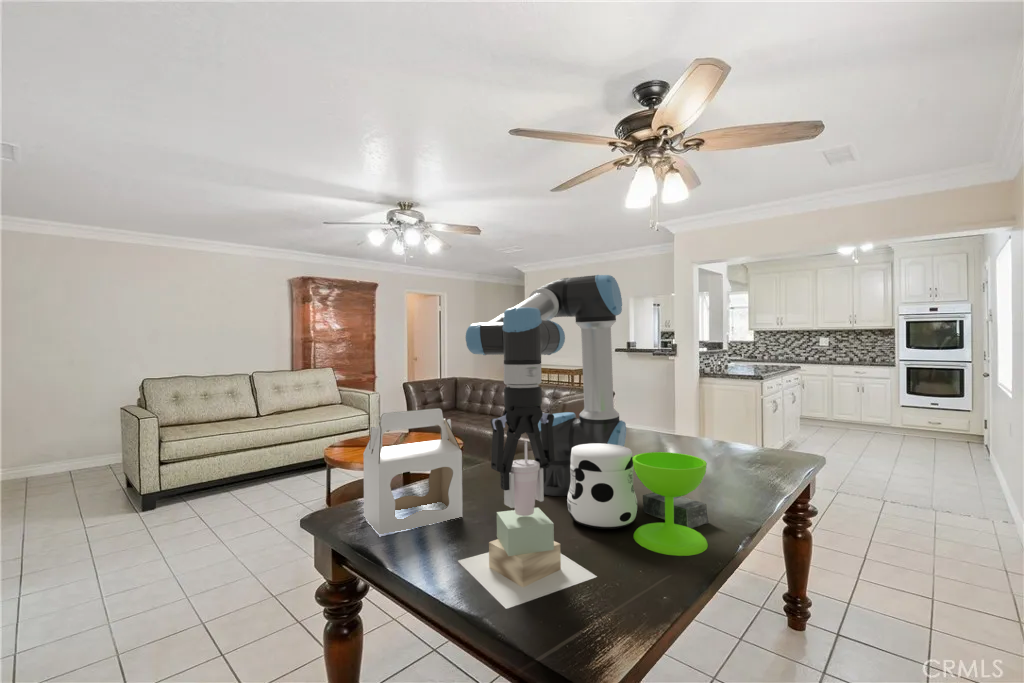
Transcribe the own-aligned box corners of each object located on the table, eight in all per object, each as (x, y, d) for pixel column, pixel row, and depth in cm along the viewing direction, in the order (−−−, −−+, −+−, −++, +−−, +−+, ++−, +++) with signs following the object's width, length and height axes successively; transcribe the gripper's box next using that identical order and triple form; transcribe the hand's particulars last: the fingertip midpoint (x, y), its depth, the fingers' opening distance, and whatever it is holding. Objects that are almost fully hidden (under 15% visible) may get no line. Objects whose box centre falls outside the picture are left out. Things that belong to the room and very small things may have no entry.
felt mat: (457, 562, 93) (457, 560, 93) (538, 540, 103) (538, 538, 103) (506, 611, 76) (506, 608, 76) (597, 578, 86) (597, 576, 86)
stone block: (666, 506, 125) (666, 487, 125) (711, 524, 112) (711, 503, 112) (642, 512, 120) (642, 492, 121) (686, 531, 108) (686, 509, 108)
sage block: (496, 536, 92) (496, 512, 93) (538, 531, 95) (538, 507, 95) (508, 556, 84) (508, 529, 84) (553, 549, 86) (553, 523, 86)
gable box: (442, 503, 129) (441, 404, 129) (463, 517, 117) (462, 409, 118) (362, 520, 116) (362, 411, 117) (378, 538, 105) (377, 417, 106)
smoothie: (530, 520, 85) (529, 446, 85) (501, 514, 88) (501, 442, 89) (546, 510, 90) (545, 439, 91) (518, 504, 94) (517, 436, 94)
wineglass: (647, 520, 114) (646, 449, 114) (715, 536, 105) (714, 457, 105) (622, 543, 101) (621, 462, 101) (697, 563, 92) (695, 473, 92)
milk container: (650, 520, 114) (649, 449, 114) (612, 542, 102) (611, 462, 102) (593, 504, 126) (592, 439, 127) (553, 521, 114) (552, 450, 114)
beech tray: (489, 567, 90) (488, 542, 90) (526, 552, 96) (526, 528, 96) (522, 587, 82) (522, 559, 82) (560, 569, 89) (560, 543, 89)
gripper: (489, 389, 82) (490, 518, 81) (572, 384, 91) (574, 499, 91) (471, 386, 88) (472, 506, 88) (550, 382, 98) (552, 489, 98)
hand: (524, 502), depth 90 cm, fingers closed on smoothie, 6 cm apart
